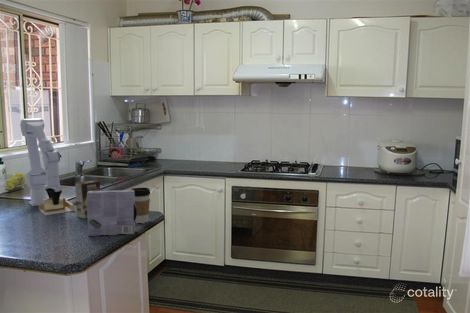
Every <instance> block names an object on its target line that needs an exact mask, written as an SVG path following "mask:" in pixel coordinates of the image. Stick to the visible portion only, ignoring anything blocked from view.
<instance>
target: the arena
mask: <svg viewBox="0 0 470 313" xmlns="http://www.w3.org/2000/svg"><path fill="white" fill-rule="evenodd" d="M65 200H66V208H59V209H52V210H45V209H44V207H43V204H39V205H38V210H39V212H41V213H42V214H43V215H44V216H50V215H51V216H53V215H58V214H64V213H68V212H73V211H75V206H74V204H73V203H71V202H70V201H69V200H67V199H65Z"/></svg>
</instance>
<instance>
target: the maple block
mask: <svg viewBox="0 0 470 313" xmlns="http://www.w3.org/2000/svg"><path fill="white" fill-rule="evenodd" d="M66 200H67V199H66V198H65V197H64V196H60V199H59V204H58V205H53V201H52V198H49V197H48V198H47V199H43V207H44V209H45V210H52V209H59V208H66Z"/></svg>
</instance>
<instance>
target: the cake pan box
mask: <svg viewBox="0 0 470 313" xmlns="http://www.w3.org/2000/svg"><path fill="white" fill-rule="evenodd" d="M136 217H137V206H136V203H135V191H134V190H130V189H128V190H127V189H126V190H100V191H88V192H87V218H86V219H87V220H86V221H87V224H86V225H87V236H88V237H99V236H100V235H104V236H105V235H109V236H119V235H118V234H126V235H135V232H136V223H135V220H136Z"/></svg>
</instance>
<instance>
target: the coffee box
mask: <svg viewBox="0 0 470 313" xmlns="http://www.w3.org/2000/svg"><path fill="white" fill-rule="evenodd" d="M74 186H75V202H76V205H75V206H76V208H75V209H76V217H77V218H79V219H87V192H88V191H101V182H100V180H94V179H91V180H84V181H78V182H75V185H74Z"/></svg>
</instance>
